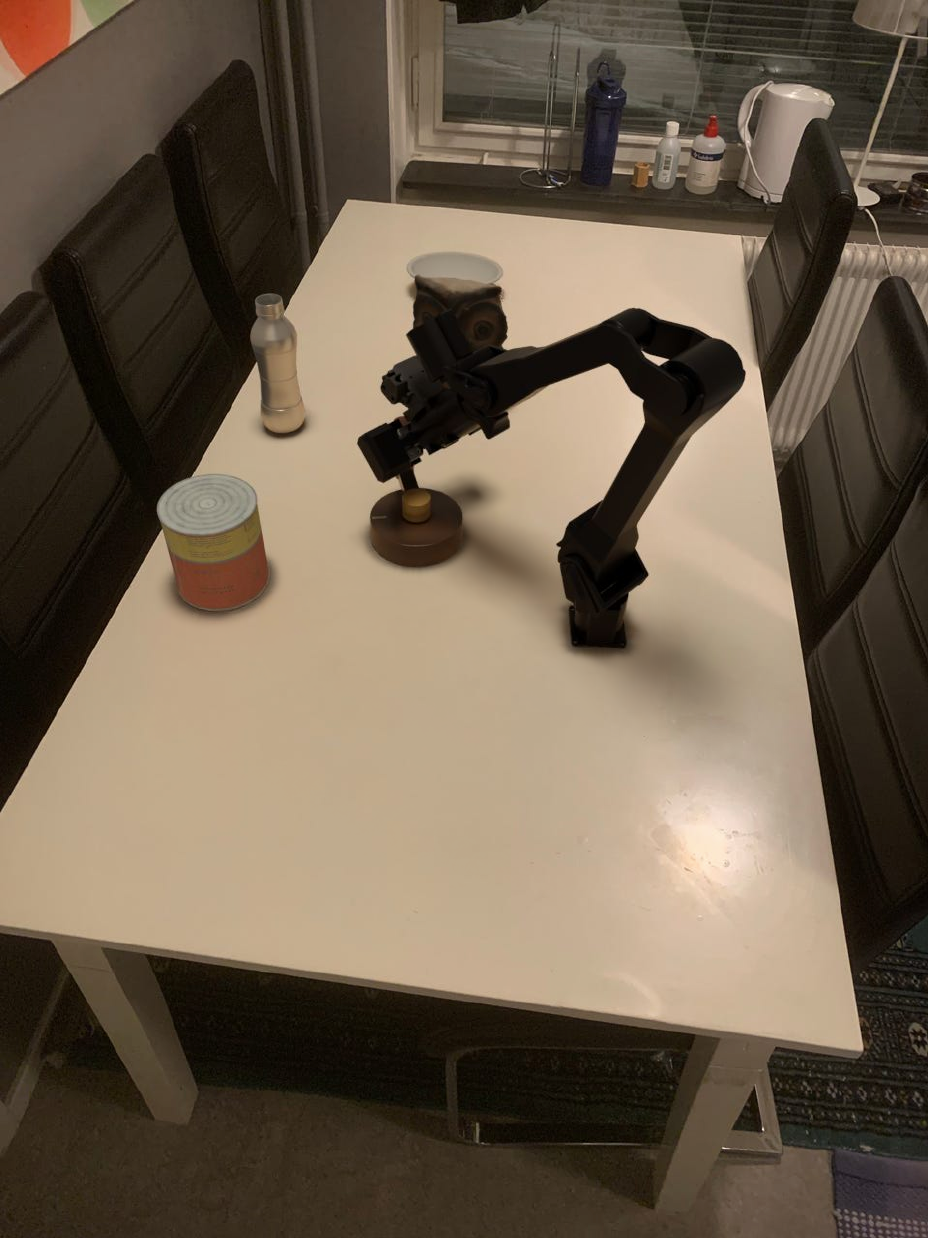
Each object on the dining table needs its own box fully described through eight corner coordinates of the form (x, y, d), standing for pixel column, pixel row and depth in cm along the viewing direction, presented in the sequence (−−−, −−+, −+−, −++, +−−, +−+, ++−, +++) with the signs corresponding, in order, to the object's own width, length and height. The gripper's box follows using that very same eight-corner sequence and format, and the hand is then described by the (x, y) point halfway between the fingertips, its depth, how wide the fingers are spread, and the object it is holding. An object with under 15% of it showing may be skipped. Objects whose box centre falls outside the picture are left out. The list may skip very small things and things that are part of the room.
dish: (400, 308, 165) (399, 281, 161) (414, 273, 175) (414, 247, 171) (496, 317, 163) (498, 290, 160) (505, 281, 173) (507, 255, 170)
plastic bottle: (253, 431, 136) (233, 304, 122) (280, 409, 141) (264, 284, 126) (289, 443, 134) (273, 315, 120) (315, 421, 139) (302, 295, 124)
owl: (511, 410, 142) (521, 287, 128) (438, 428, 138) (439, 303, 124) (475, 371, 150) (480, 251, 136) (404, 387, 146) (402, 265, 132)
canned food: (284, 559, 116) (273, 483, 108) (246, 619, 109) (230, 543, 100) (203, 542, 118) (186, 466, 110) (160, 600, 111) (138, 523, 102)
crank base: (460, 568, 116) (461, 547, 114) (366, 565, 116) (365, 543, 114) (463, 509, 125) (464, 488, 122) (375, 506, 125) (374, 484, 122)
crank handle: (433, 520, 117) (433, 464, 111) (405, 524, 116) (404, 467, 110) (415, 469, 124) (415, 414, 118) (389, 472, 124) (387, 417, 117)
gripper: (480, 323, 111) (418, 369, 125) (363, 377, 102) (310, 421, 115) (522, 405, 113) (458, 442, 126) (412, 466, 104) (354, 499, 117)
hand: (397, 449), depth 121 cm, fingers closed on crank handle, 3 cm apart
